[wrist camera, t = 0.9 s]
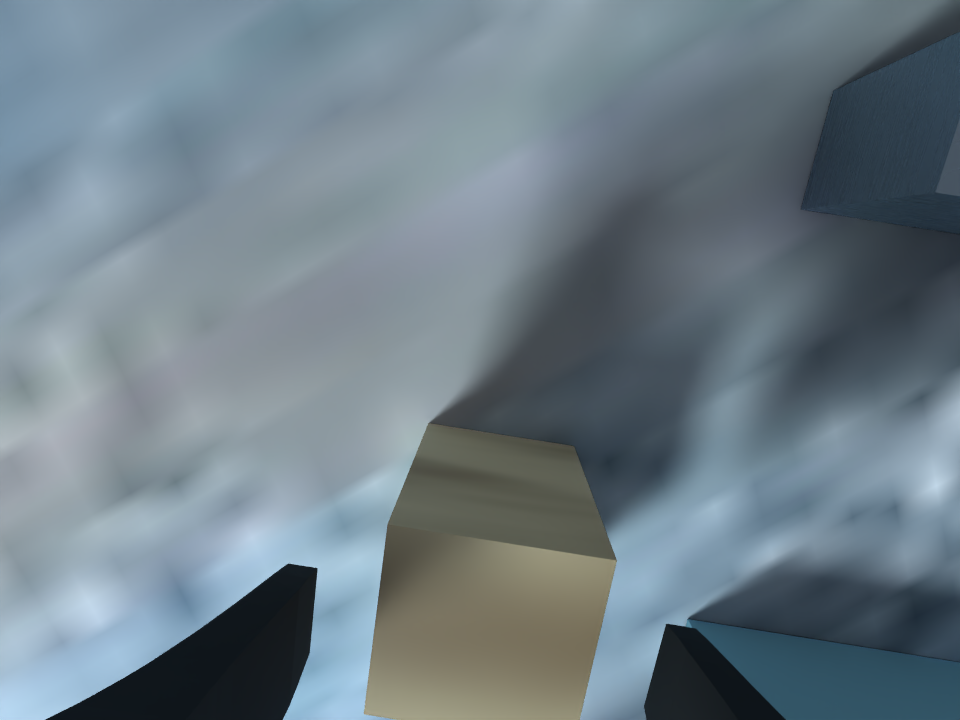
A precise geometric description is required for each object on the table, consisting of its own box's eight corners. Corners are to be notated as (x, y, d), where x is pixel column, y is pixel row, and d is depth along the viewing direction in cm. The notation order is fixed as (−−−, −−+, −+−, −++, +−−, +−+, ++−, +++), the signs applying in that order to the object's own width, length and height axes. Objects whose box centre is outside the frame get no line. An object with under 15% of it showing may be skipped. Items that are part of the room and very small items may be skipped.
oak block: (547, 574, 17) (573, 747, 11) (410, 552, 17) (363, 714, 11) (573, 445, 16) (616, 560, 10) (428, 422, 16) (387, 524, 10)
